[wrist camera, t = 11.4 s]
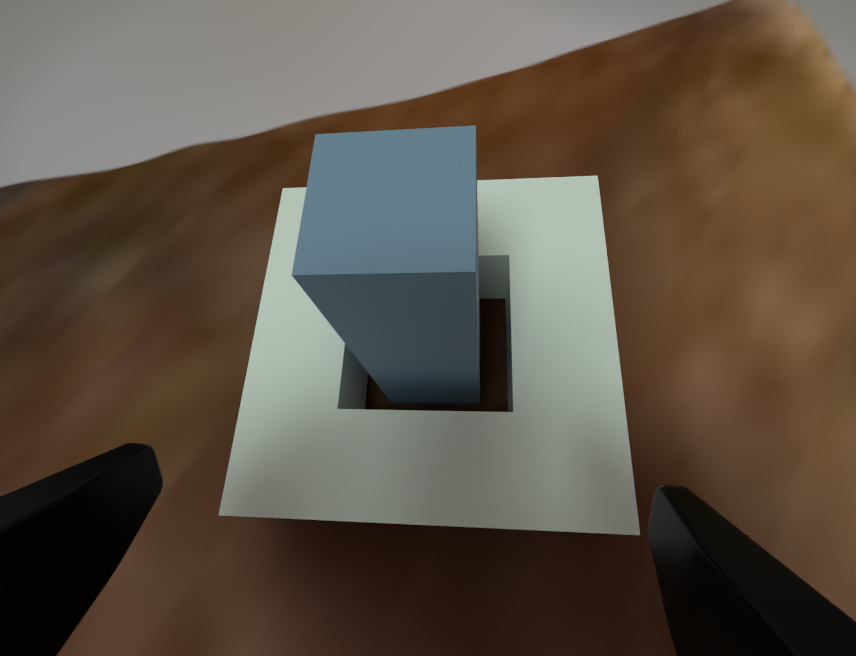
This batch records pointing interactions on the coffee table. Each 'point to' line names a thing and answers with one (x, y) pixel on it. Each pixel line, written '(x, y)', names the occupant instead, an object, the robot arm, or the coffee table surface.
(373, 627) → the coffee table surface
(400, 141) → the peg
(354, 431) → the socket block
